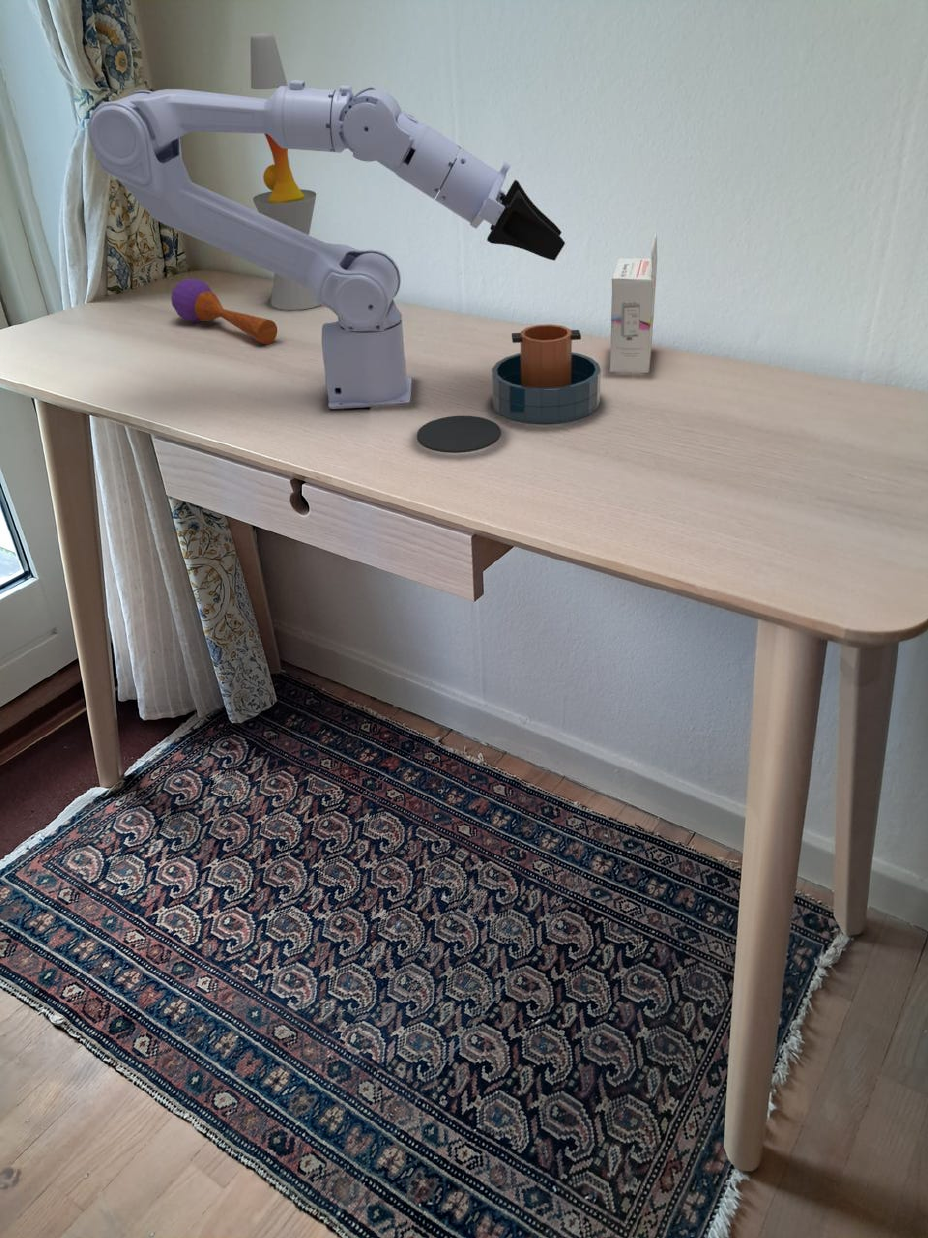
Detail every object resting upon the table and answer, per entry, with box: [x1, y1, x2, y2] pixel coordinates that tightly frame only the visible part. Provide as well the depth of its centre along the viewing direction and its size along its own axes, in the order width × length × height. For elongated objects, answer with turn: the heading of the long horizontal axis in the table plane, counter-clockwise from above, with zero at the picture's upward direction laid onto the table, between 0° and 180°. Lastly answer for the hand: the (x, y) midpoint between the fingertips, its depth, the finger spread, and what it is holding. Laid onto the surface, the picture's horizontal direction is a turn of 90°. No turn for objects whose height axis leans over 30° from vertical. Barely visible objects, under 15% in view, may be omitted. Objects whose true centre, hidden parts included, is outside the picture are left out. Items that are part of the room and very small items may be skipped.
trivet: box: [416, 415, 502, 454], centre depth 106 cm, size 9×9×1 cm
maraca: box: [170, 278, 278, 346], centre depth 138 cm, size 6×6×20 cm
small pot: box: [511, 323, 582, 388], centre depth 109 cm, size 7×6×8 cm
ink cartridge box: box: [609, 232, 658, 374], centre depth 117 cm, size 9×5×15 cm, turn 168°
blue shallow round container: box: [491, 352, 602, 425], centre depth 111 cm, size 12×12×4 cm
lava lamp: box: [250, 32, 322, 311], centre depth 139 cm, size 9×9×35 cm
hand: (558, 245), depth 105 cm, fingers open, 7 cm apart
